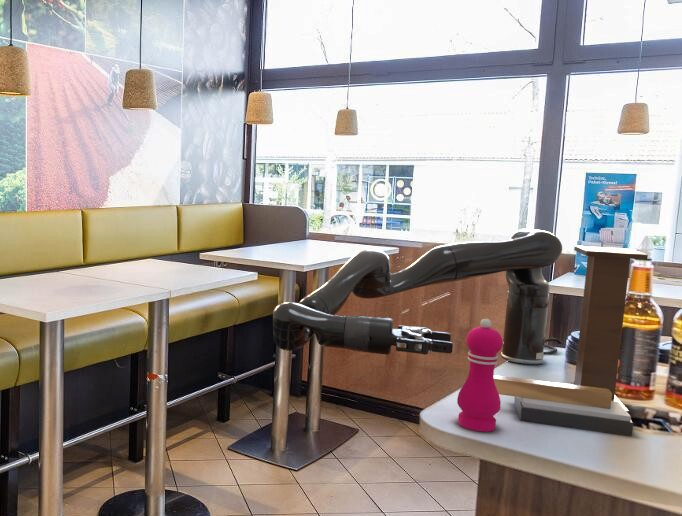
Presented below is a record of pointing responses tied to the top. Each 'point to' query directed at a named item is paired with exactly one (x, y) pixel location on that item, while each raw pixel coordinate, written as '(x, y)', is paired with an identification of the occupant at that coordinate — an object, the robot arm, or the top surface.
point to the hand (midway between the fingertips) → (451, 343)
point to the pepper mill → (480, 380)
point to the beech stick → (553, 391)
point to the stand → (603, 316)
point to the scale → (575, 415)
